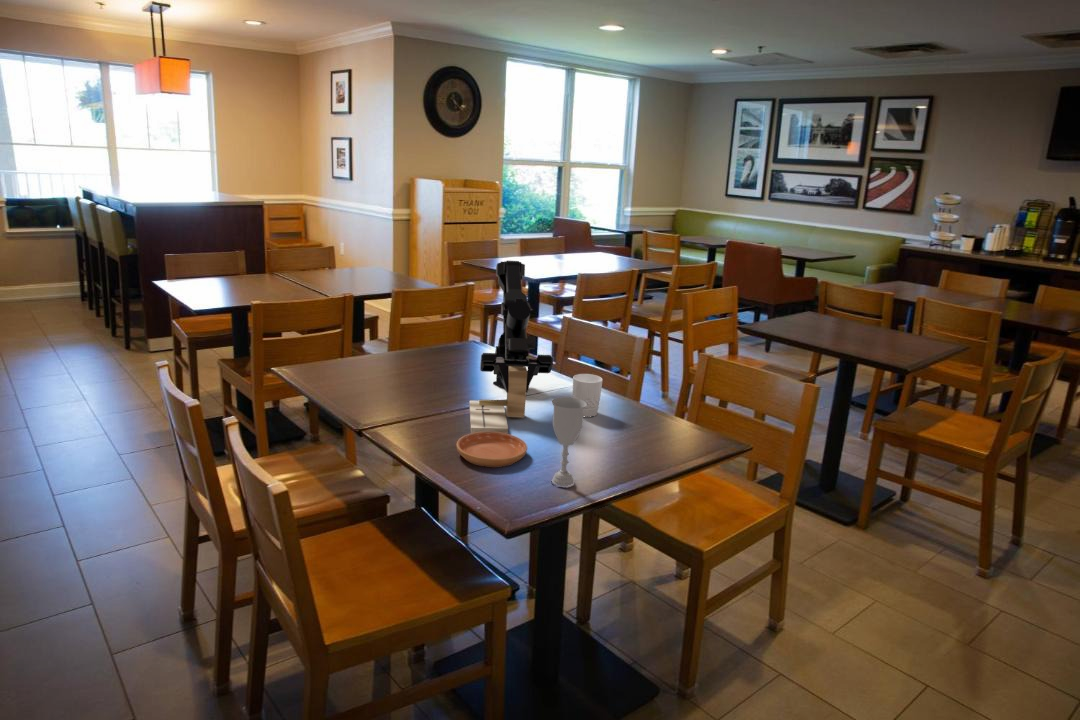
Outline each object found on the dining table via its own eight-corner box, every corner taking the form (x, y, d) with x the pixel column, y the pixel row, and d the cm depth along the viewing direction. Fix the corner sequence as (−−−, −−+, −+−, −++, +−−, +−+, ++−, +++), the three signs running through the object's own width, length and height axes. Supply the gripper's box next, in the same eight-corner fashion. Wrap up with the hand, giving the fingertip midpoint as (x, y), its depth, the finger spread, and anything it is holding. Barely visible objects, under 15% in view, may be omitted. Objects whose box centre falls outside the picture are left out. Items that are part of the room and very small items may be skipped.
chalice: (539, 483, 150) (545, 402, 146) (556, 472, 156) (561, 394, 151) (569, 493, 147) (576, 411, 142) (585, 482, 152) (592, 402, 148)
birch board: (469, 405, 194) (469, 400, 193) (502, 406, 195) (502, 400, 195) (470, 433, 175) (471, 427, 174) (507, 434, 176) (508, 428, 175)
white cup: (603, 418, 191) (606, 382, 189) (575, 418, 189) (577, 382, 187) (594, 408, 199) (597, 373, 196) (566, 408, 197) (569, 373, 194)
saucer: (537, 452, 167) (538, 440, 166) (506, 477, 153) (507, 464, 152) (477, 437, 173) (478, 426, 172) (442, 460, 159) (442, 448, 158)
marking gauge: (478, 410, 188) (480, 365, 185) (523, 411, 190) (525, 366, 186) (479, 416, 184) (481, 370, 181) (524, 417, 186) (527, 371, 182)
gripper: (482, 322, 184) (482, 377, 176) (554, 325, 186) (557, 379, 179) (480, 344, 193) (480, 396, 186) (548, 346, 196) (551, 398, 188)
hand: (517, 392), depth 184 cm, fingers closed on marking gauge, 4 cm apart
